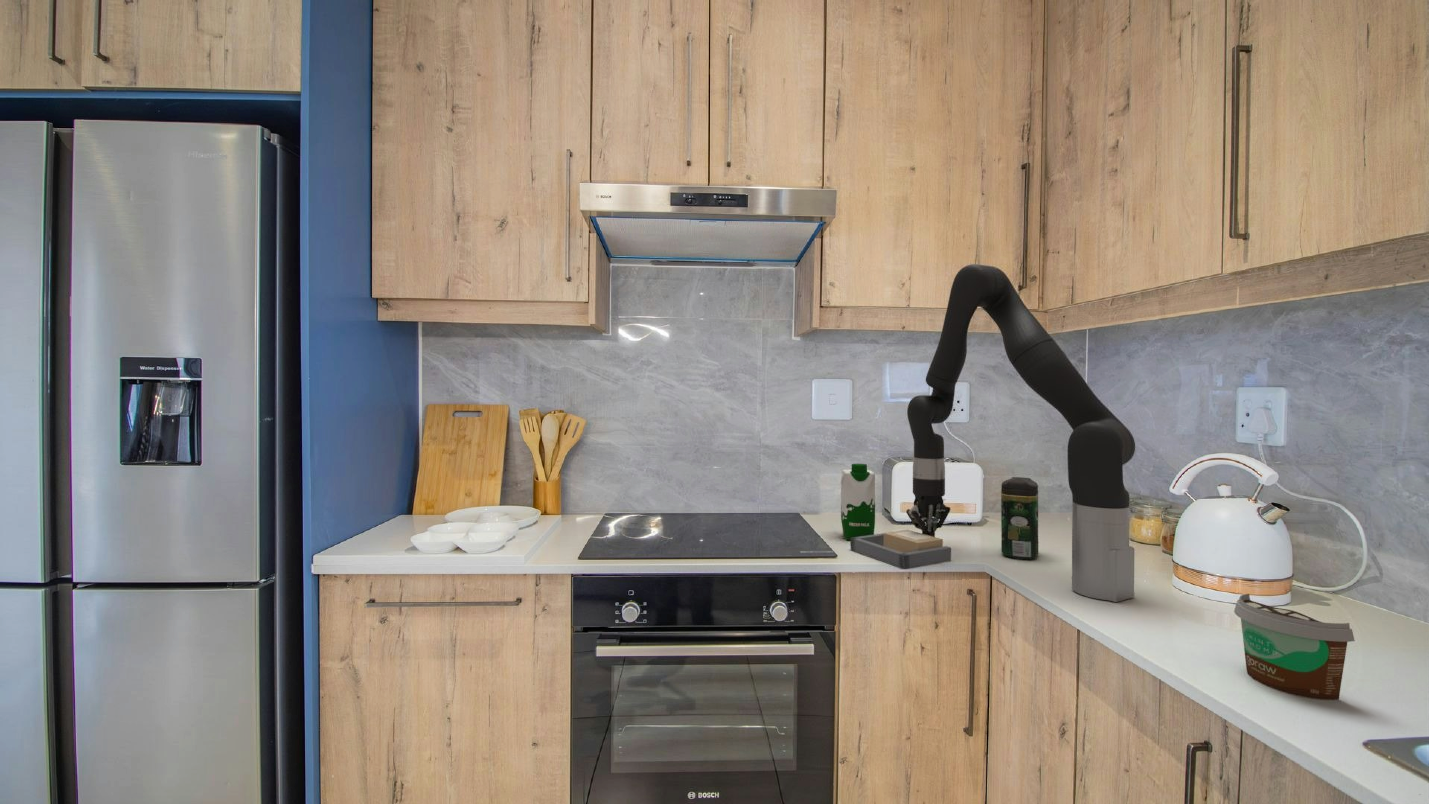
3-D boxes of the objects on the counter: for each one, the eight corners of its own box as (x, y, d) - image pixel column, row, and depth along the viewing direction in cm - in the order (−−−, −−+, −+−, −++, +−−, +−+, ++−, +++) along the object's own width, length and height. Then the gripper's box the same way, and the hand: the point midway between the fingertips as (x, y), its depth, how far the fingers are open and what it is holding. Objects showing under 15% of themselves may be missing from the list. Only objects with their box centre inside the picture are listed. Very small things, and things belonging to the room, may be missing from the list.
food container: (1210, 665, 83) (1211, 595, 83) (1243, 661, 85) (1244, 592, 85) (1317, 711, 71) (1318, 629, 71) (1354, 705, 73) (1354, 624, 73)
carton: (942, 560, 138) (942, 538, 138) (917, 564, 135) (917, 542, 135) (907, 549, 148) (907, 529, 148) (883, 553, 145) (883, 532, 145)
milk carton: (843, 541, 154) (843, 465, 154) (839, 533, 163) (839, 461, 163) (877, 542, 153) (877, 465, 153) (871, 534, 162) (871, 461, 162)
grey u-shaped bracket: (950, 560, 136) (950, 547, 136) (904, 568, 130) (904, 555, 130) (894, 543, 152) (894, 531, 152) (850, 549, 146) (850, 537, 146)
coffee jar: (1003, 548, 147) (1003, 474, 147) (1039, 552, 143) (1039, 476, 143) (998, 557, 139) (998, 478, 139) (1036, 562, 135) (1037, 481, 135)
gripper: (920, 479, 139) (920, 552, 139) (960, 476, 145) (959, 546, 145) (897, 475, 146) (897, 545, 146) (936, 472, 152) (936, 539, 152)
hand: (928, 545), depth 146 cm, fingers closed
